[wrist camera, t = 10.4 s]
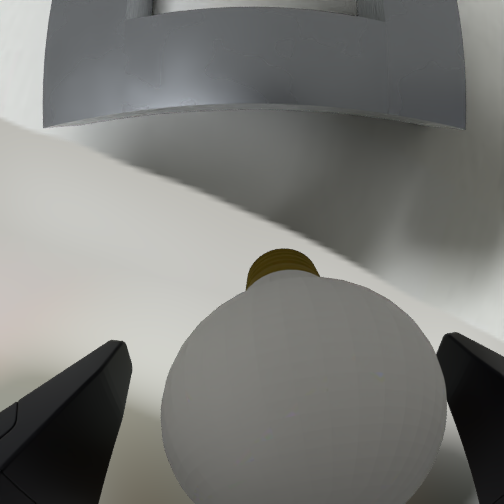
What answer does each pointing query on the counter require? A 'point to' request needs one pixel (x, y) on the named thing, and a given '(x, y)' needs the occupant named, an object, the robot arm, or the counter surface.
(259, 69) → the socket collar
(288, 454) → the light bulb
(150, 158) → the counter surface
